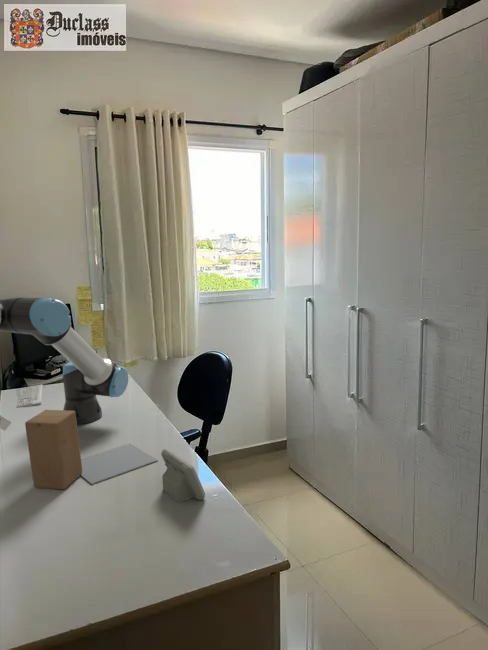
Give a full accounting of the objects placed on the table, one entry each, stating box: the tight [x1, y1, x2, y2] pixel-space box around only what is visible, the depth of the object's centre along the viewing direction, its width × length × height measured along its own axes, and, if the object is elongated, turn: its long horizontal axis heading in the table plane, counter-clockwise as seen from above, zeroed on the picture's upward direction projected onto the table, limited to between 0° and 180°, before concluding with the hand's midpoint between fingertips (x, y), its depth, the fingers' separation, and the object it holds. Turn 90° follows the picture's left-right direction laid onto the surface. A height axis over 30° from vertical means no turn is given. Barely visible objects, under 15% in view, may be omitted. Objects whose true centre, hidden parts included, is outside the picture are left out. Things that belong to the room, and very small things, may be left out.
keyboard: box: [15, 384, 44, 409], centre depth 223 cm, size 29×10×2 cm, turn 21°
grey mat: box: [79, 443, 158, 486], centre depth 154 cm, size 22×18×1 cm
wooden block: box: [24, 409, 82, 490], centre depth 141 cm, size 10×10×20 cm
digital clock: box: [161, 448, 206, 503], centre depth 135 cm, size 16×9×11 cm, turn 25°
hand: (7, 425), depth 131 cm, fingers closed
